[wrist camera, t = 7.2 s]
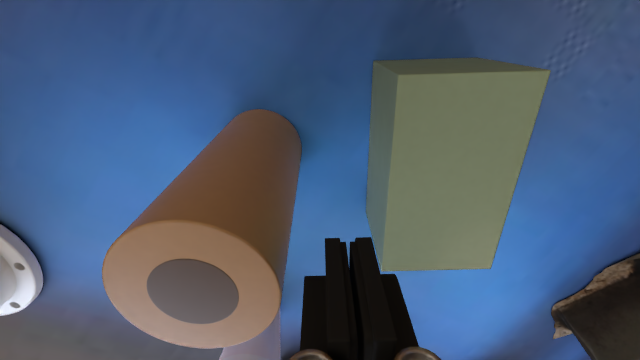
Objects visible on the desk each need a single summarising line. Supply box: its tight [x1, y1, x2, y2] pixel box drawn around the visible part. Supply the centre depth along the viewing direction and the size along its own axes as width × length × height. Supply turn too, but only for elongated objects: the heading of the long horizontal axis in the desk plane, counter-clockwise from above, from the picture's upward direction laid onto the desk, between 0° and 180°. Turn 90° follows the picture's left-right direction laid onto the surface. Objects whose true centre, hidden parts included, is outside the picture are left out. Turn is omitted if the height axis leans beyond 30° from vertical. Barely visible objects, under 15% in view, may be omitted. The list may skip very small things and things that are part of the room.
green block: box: [366, 58, 550, 271], centre depth 19 cm, size 7×12×7 cm, turn 2°
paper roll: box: [102, 109, 302, 348], centre depth 16 cm, size 13×6×15 cm, turn 94°
